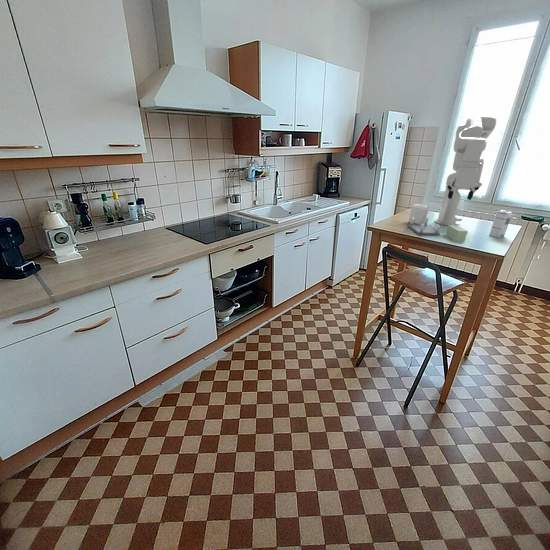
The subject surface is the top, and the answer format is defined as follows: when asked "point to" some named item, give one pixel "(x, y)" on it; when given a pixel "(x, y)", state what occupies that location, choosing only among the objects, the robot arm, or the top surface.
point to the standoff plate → (425, 231)
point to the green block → (456, 233)
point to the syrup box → (500, 223)
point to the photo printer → (418, 213)
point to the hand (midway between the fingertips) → (459, 198)
